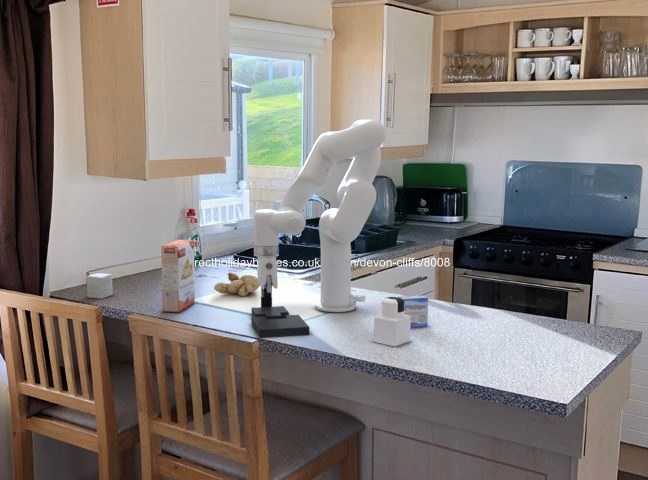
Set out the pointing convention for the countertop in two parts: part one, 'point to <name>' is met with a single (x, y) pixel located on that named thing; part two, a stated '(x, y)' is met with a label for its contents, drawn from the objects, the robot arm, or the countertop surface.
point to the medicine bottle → (392, 323)
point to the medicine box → (416, 310)
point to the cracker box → (178, 275)
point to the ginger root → (238, 285)
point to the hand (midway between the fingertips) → (266, 309)
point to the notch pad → (280, 326)
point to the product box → (99, 285)
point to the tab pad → (270, 312)
